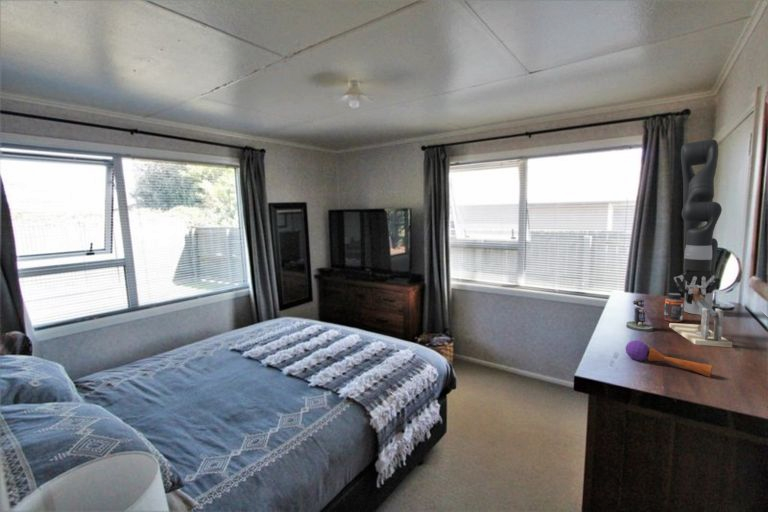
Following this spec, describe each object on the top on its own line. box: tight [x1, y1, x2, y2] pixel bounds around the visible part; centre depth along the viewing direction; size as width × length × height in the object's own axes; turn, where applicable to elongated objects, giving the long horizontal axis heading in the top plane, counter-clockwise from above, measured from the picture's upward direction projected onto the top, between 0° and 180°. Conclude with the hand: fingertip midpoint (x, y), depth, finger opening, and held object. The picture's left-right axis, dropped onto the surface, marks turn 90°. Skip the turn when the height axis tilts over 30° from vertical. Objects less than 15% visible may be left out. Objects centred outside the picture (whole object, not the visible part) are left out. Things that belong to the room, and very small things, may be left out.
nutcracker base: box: [668, 308, 733, 348], centre depth 128 cm, size 20×10×12 cm, turn 161°
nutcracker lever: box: [692, 288, 718, 318], centre depth 127 cm, size 17×3×4 cm, turn 161°
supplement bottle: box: [663, 292, 684, 323], centre depth 146 cm, size 6×6×11 cm
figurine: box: [625, 297, 654, 333], centre depth 138 cm, size 8×8×12 cm
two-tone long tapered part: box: [625, 339, 713, 378], centre depth 104 cm, size 6×6×20 cm
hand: (694, 303), depth 131 cm, fingers open, 2 cm apart
